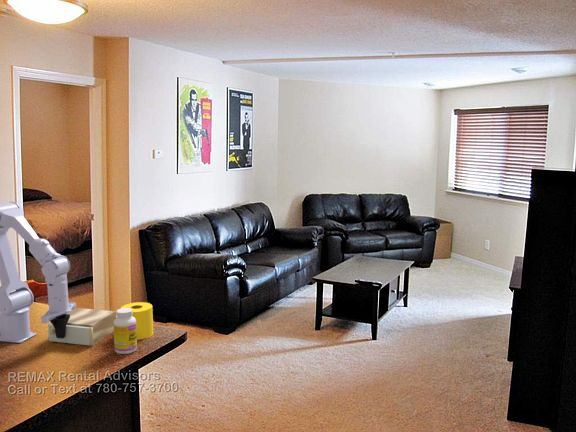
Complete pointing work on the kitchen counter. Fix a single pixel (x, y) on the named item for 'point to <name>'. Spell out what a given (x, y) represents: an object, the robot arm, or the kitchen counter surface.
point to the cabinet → (94, 321)
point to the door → (73, 335)
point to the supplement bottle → (125, 331)
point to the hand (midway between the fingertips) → (60, 337)
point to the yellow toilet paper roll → (142, 318)
